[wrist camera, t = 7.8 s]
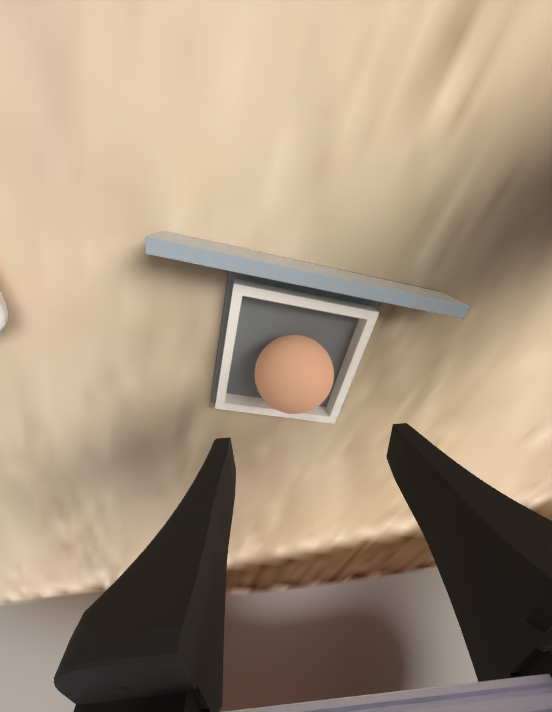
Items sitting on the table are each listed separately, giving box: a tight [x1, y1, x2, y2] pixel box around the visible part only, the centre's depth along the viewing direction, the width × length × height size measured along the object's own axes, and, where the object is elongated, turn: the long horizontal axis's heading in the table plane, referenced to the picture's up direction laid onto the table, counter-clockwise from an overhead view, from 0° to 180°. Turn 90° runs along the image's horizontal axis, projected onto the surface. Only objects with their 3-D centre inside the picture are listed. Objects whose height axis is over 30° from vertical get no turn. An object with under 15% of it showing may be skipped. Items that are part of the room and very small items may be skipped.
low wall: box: [145, 231, 471, 319], centre depth 17 cm, size 1×18×3 cm, turn 78°
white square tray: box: [211, 271, 380, 424], centre depth 20 cm, size 10×10×2 cm
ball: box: [255, 335, 334, 414], centre depth 18 cm, size 5×5×5 cm
